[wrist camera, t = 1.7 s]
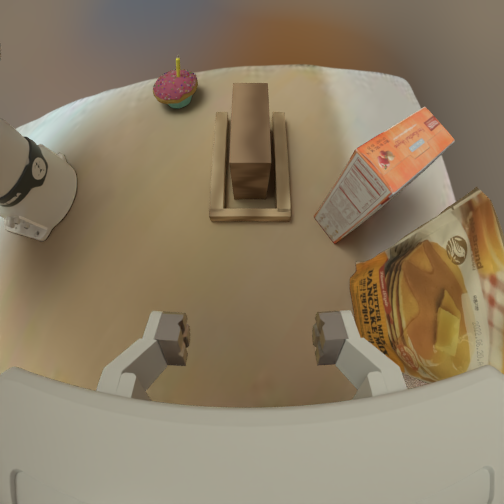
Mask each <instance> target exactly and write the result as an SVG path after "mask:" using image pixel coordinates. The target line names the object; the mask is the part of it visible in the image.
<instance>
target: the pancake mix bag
mask: <svg viewBox="0 0 504 504" xmlns="http://www.w3.org/2000/svg"><path fill="white" fill-rule="evenodd" d="M350 293H351V299H352V304H353V310H354V317H355V322H356V326H357V329H358V332H359V334H360V337H361V338H365V339H366V340H367V341H368V342H370V343H371V344H372V345H373V346H375V347H376V348H377V349H378V350H379V351H381V352H382V353H383V354H384V355H386V356H387V357H388V358H389V359H391V360H392V361H393V362H394V363H395V364H397V365H398V366H399V367H400V370H401V372H402V373H404V374H406V375H408V376H410V377H413V378H415V379H418V380H420V381H422V382H425V383H428V384H429V383H433V382H436V381H440V380H443V379H446V378H449V377H453V376H456V375H459V374H462V373H464V372H467V371H470V370H473V369H476V368H478V367H481V366H484V365H491V366H493V367H494V368H496V369H497V370H499V371H500V372H501V373H503V374H504V235H503V232H502V229H501V226H500V223H499V221H498V217H497V215H496V212H495V209H494V207H493V204H492V202H491V200H490V199H489V198H488V197H487V196H486V195H485V194H484V193H483V192H482V191H480V189H478V188H477V187H475V188H474V190H472V191H471V192H470V193H468V194H467V195H466V196H464V197H463V198H461V199H460V200H459V201H457V202H455V203H454V204H452V205H451V206H449V207H447V208H446V209H445V210H444V211H443V212H441V213H440V214H439V215H438V216H437V217H435V218H433V219H432V220H430V221H428V222H427V223H425V224H423V225H421V226H420V227H418V228H417V229H416V230H414V231H413V232H411V233H409V234H408V235H406V236H405V237H404V238H402V239H401V240H400V241H398V242H397V243H396V244H395V245H394V246H392V247H390V248H388V249H387V250H385V251H383V252H381V253H379V254H378V255H377V256H376V257H374V258H373V259H371V260H368V261H365V262H358V261H356V272H355V273H354V274H353V275H352V277H351V278H350Z"/></svg>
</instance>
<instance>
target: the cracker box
mask: <svg viewBox="0 0 504 504" xmlns="http://www.w3.org/2000/svg"><path fill="white" fill-rule="evenodd" d="M454 141H455V140H454V139H453V138H452V137H451V135H450V134H449V133H448V132H447V130H446V129H445V128H444V127H443V126H442V125H441V124H440V122H439V121H438V120H437V119H436V118H435V117H434V116H433V115H432V114H431V112H429V110H428V109H426V107H423V108H422V109H420V110H418V111H417V112H415V113H413V114H412V115H410V116H409V117H407V118H405V119H404V120H402V121H400V122H399V123H397V124H396V125H394V126H392V127H391V128H389V129H388V130H386V131H384V132H383V133H381V134H379V135H378V136H376V137H374V138H373V139H371V140H370V141H368V142H366V143H365V144H363V145H362V146H360V147H358V148H357V149H356V150H355V151H354V153H353V155H352V156H351V158H350V160H349V161H348V163H347V164H346V166H345V168H344V169H343V171H342V173H341V174H340V176H339V178H338V179H337V181H336V183H335V184H334V186H333V187H332V189H331V190H330V192H329V194H328V195H327V197H326V198H325V200H324V202H323V203H322V205H321V206H320V208H319V210H318V211H317V213H316V214H315V216H314V218H315V219H316V220H317V222H318V223H319V224H320V226H321V227H322V228H323V230H324V231H325V232H326V233H327V235H328V236H329V237H330V239H331V240H332V241H333V243H334V244H336V243H337V242H338V241H340V240H341V239H342V238H344V237H345V236H346V235H348V234H349V233H350V232H352V231H353V230H354V229H355V228H357V227H358V226H359V225H361V224H362V223H363V222H364V221H366V220H367V219H368V218H369V217H371V216H372V215H373V214H374V213H376V212H377V211H378V210H379V209H380V208H382V207H383V206H384V205H385V204H386V203H388V202H389V201H390V200H391V199H392V198H394V197H395V196H396V195H397V194H398V193H400V192H401V191H402V190H403V189H404V188H405V187H407V186H408V185H409V184H410V183H411V182H412V181H413V180H415V179H416V178H417V177H418V176H419V175H420V174H421V173H422V172H423V171H425V170H426V169H427V168H428V167H429V166H430V165H431V164H432V163H433V162H434V161H435V160H436V159H437V158H438V157H439V156H440V155H441V154H442V153H443V152H444V151H445V150H446V149H447V148H448V147H449V146H450V145H451V144H452V143H453V142H454Z"/></svg>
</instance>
